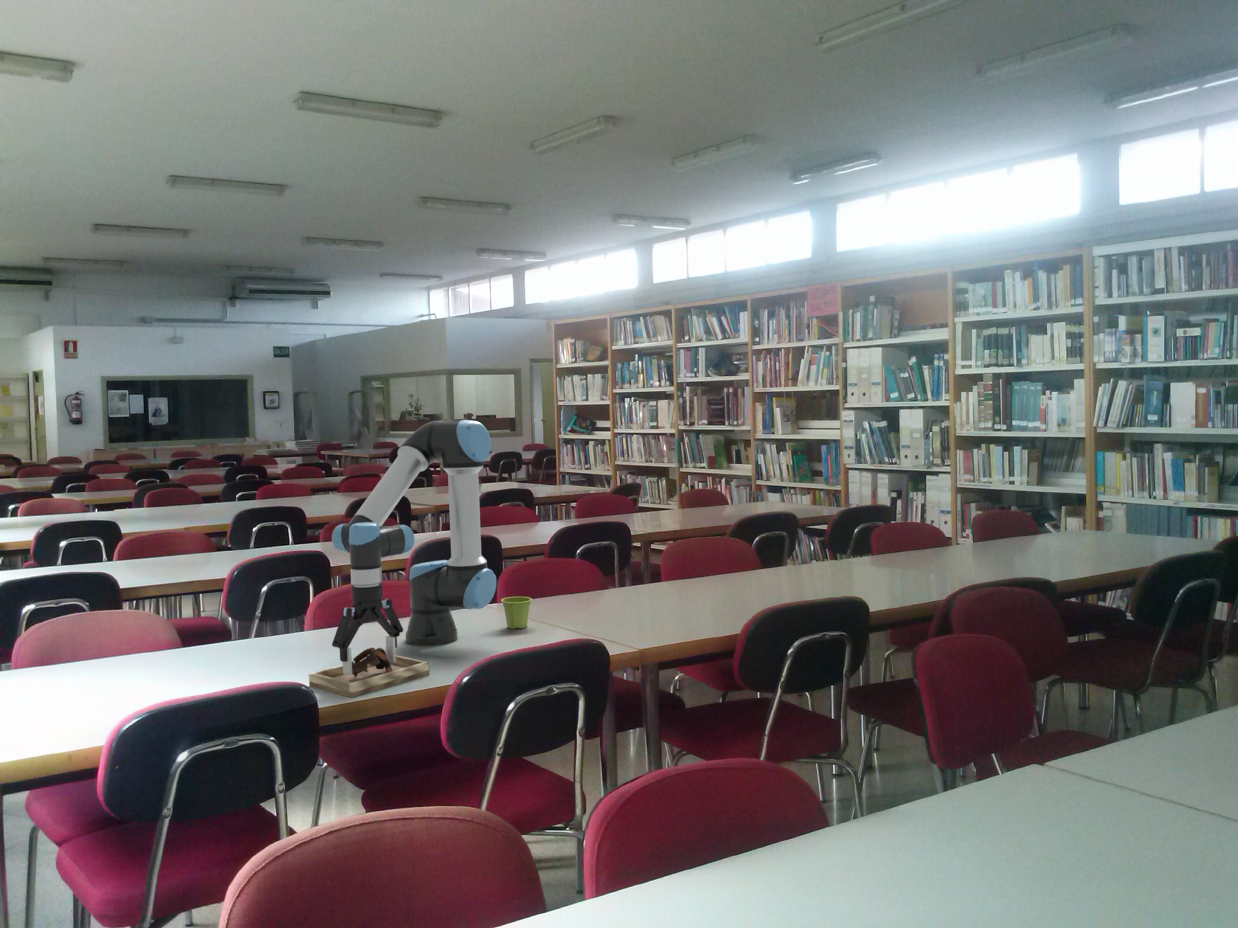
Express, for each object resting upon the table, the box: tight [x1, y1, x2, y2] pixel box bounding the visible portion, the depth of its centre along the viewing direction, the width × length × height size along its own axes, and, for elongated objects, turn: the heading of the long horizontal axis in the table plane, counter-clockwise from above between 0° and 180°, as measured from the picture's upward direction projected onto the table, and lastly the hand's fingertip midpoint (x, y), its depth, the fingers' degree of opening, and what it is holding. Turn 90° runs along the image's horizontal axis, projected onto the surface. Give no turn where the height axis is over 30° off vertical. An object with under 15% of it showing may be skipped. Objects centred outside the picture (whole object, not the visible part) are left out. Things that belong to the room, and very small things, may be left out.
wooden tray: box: [308, 653, 430, 698], centre depth 249 cm, size 24×17×3 cm
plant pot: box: [500, 596, 533, 630], centre depth 305 cm, size 9×9×9 cm
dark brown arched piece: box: [352, 647, 392, 677], centre depth 248 cm, size 12×10×8 cm
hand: (369, 667), depth 248 cm, fingers open, 13 cm apart
